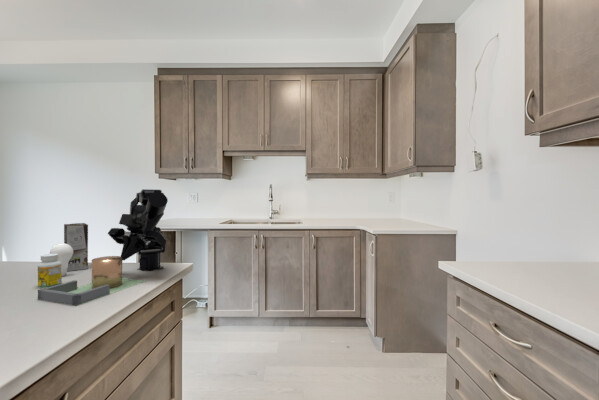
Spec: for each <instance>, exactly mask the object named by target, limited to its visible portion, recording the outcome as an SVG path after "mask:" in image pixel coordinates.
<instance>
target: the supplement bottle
mask: <svg viewBox="0 0 599 400" xmlns="http://www.w3.org/2000/svg"><path fill="white" fill-rule="evenodd" d="M58 258H59V257H58V254H50V253H45V254H41V255H40V261H41V262H39V263H38V264H37V288H39V289H44V288H48V287H51V286H55V285H59V284H62V282H63V281H62V278H63V277H62V276H61V262H60V261H58V260H57V259H58Z"/></svg>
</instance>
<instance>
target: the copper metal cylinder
mask: <svg viewBox="0 0 599 400" xmlns="http://www.w3.org/2000/svg"><path fill="white" fill-rule="evenodd" d="M122 278H123V260H122V257H121V255H120V256H119V255H109V256H100V257H95V258H92V259H91V283H92V289H94V288H97V287H100V286H103V285H110V289H112V288H116V287H119V286H121V285H122Z"/></svg>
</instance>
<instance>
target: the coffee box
mask: <svg viewBox="0 0 599 400" xmlns="http://www.w3.org/2000/svg"><path fill="white" fill-rule="evenodd" d="M63 243H65V244H68V245H70V246H71V247H72V249H73V255H72V257H71V259H70V260H69V262H68V268H67V272H73V271H79V270H87V269H89V267H88V265H89V262H88V261H89V259H88V257H89V255H88V254H89V251H88V250H89V247H88V246H89V224H87V223H84V222H81V223H80V222H76V223H64V225H63Z"/></svg>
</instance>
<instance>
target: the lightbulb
mask: <svg viewBox="0 0 599 400" xmlns="http://www.w3.org/2000/svg"><path fill="white" fill-rule="evenodd" d="M49 254H58V257H59V258H58V259H57V260H58V261H60V262H61V276H62V278H63V277H64V276H66V275H67V273H68V271H67V268H68V262H69V260H70V259H71V257H72V255H73V249H72V247H71V246H70V245H68V244H65V243H64V242H62V243H57V244H55V245H54V246H53V247H51V249H50V251H49Z"/></svg>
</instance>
